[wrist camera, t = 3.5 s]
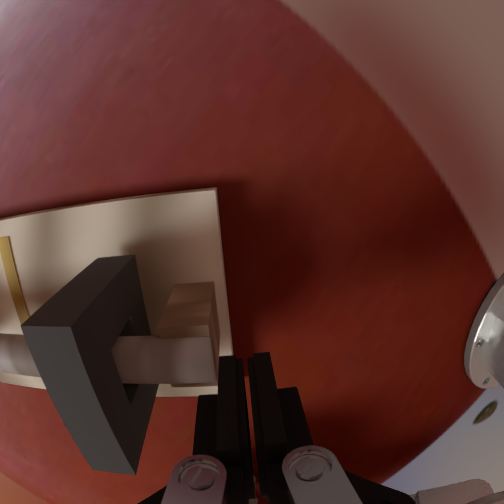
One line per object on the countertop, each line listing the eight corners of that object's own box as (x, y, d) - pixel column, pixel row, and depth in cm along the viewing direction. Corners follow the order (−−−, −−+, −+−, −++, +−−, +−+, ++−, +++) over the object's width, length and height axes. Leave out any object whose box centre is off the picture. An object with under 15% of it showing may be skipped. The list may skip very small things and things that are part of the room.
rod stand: (216, 187, 16) (205, 207, 9) (236, 379, 20) (240, 465, 13) (-46, 228, 16) (-112, 257, 9) (-1, 370, 19) (-43, 421, 12)
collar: (135, 254, 14) (70, 326, 8) (161, 375, 16) (135, 474, 10) (97, 257, 14) (20, 325, 8) (128, 375, 16) (92, 469, 10)
